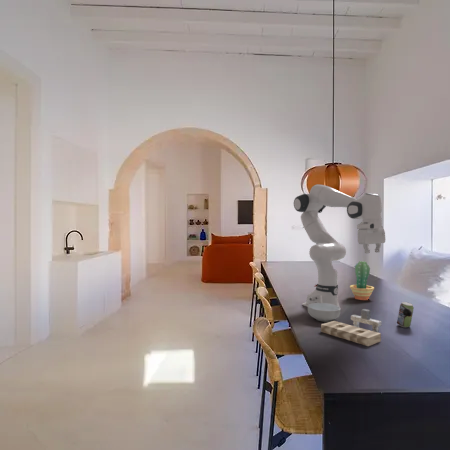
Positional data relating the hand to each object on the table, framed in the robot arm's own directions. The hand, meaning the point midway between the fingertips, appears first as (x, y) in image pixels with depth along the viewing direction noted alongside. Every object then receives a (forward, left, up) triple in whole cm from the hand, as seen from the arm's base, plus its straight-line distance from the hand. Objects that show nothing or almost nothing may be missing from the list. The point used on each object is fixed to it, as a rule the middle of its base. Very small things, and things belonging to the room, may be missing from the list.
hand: (372, 252), depth 177 cm
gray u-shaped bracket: (+4, -11, -36) cm, 38 cm away
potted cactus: (-36, +51, -37) cm, 72 cm away
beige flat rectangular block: (+4, -24, -36) cm, 44 cm away
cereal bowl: (-20, -11, -37) cm, 43 cm away
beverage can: (+12, +11, -37) cm, 40 cm away
